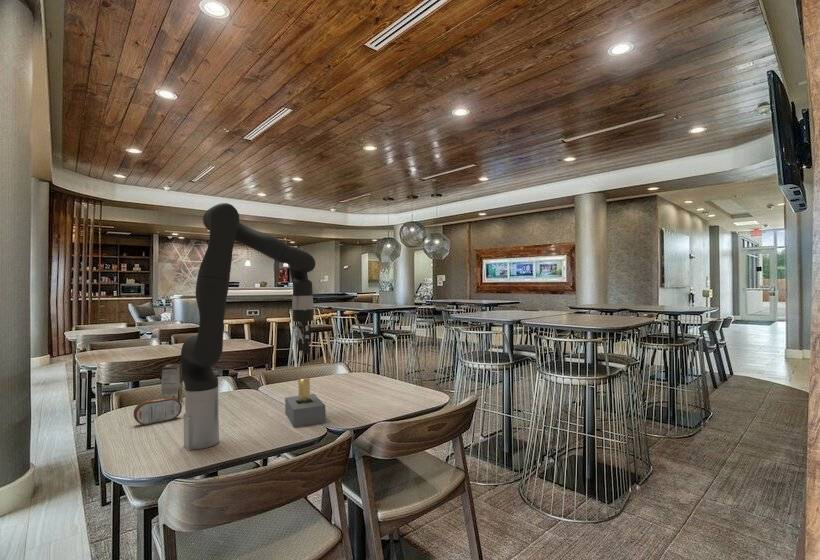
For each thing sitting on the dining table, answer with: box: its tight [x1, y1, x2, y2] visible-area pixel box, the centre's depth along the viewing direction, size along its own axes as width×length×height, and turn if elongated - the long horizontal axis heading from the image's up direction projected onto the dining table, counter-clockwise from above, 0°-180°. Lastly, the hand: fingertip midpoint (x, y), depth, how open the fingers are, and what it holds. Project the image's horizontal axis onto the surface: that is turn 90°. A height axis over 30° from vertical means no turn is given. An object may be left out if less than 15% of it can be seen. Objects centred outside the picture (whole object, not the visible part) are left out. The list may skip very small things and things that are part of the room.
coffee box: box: [160, 363, 184, 403], centre depth 176 cm, size 9×6×16 cm
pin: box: [297, 377, 311, 404], centre depth 154 cm, size 4×4×12 cm
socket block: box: [284, 393, 327, 428], centre depth 153 cm, size 18×11×6 cm, turn 25°
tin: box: [133, 397, 183, 426], centre depth 152 cm, size 15×3×8 cm, turn 129°
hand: (303, 352), depth 154 cm, fingers open, 8 cm apart
